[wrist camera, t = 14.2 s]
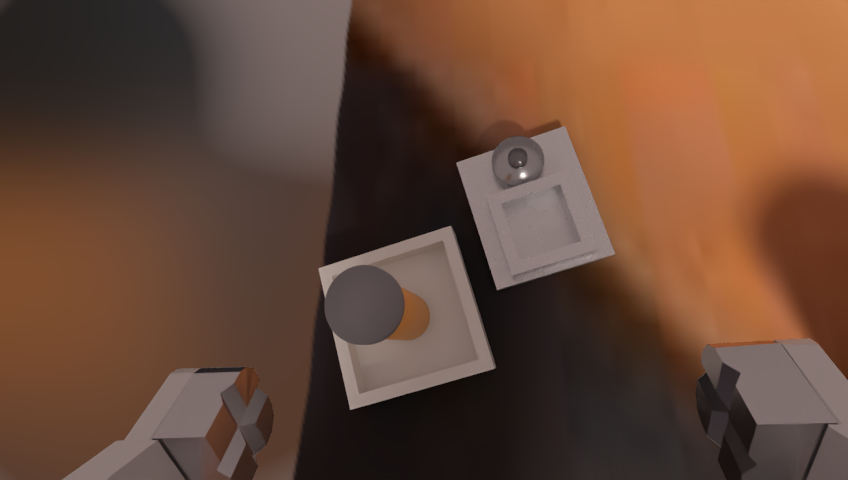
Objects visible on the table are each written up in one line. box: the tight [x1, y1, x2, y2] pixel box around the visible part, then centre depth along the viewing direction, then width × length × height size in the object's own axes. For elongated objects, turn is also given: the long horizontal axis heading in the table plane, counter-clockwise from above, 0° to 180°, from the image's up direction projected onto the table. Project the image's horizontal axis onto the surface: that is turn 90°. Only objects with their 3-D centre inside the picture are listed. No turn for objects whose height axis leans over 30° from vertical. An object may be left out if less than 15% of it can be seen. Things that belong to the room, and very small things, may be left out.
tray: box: [319, 226, 496, 410], centre depth 42 cm, size 12×12×3 cm
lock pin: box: [324, 265, 430, 345], centre depth 36 cm, size 5×5×13 cm
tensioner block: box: [457, 126, 615, 291], centre depth 42 cm, size 12×10×3 cm
